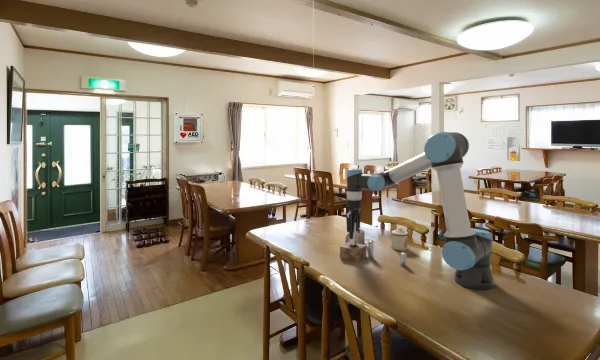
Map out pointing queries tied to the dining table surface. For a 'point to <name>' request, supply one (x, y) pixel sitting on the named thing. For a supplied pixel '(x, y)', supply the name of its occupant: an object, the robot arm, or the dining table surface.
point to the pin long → (355, 235)
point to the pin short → (403, 259)
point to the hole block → (353, 252)
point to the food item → (360, 237)
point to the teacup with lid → (399, 239)
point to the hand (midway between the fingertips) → (353, 243)
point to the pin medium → (370, 249)
